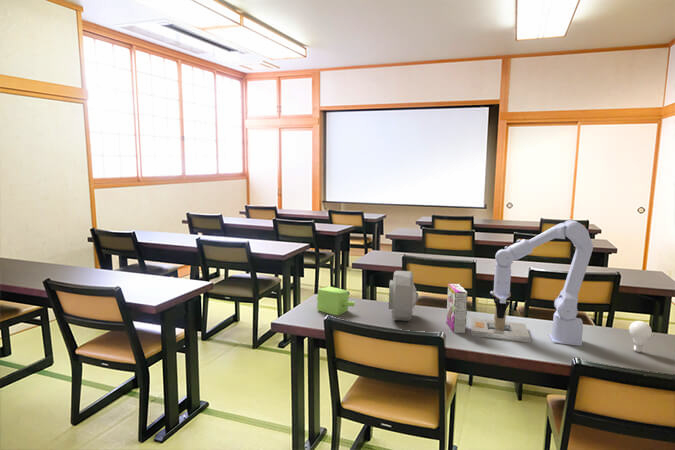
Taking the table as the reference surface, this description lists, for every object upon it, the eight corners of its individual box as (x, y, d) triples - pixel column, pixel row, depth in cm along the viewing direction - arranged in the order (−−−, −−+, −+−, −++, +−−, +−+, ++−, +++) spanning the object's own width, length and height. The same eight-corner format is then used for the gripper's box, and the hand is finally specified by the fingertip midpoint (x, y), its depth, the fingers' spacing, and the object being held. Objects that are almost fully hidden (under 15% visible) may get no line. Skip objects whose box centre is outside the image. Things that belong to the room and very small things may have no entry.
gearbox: (358, 313, 186) (360, 291, 185) (346, 318, 178) (348, 296, 177) (324, 304, 196) (325, 283, 195) (311, 309, 187) (312, 287, 186)
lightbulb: (639, 347, 153) (643, 318, 151) (653, 355, 146) (657, 324, 145) (622, 347, 152) (625, 318, 151) (635, 355, 146) (638, 324, 145)
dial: (417, 329, 167) (420, 278, 164) (387, 326, 169) (389, 277, 166) (416, 311, 187) (418, 266, 184) (389, 309, 189) (391, 265, 186)
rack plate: (524, 328, 169) (524, 323, 169) (529, 342, 156) (530, 336, 156) (471, 322, 175) (471, 317, 174) (471, 335, 161) (472, 330, 161)
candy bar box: (445, 322, 174) (447, 283, 172) (457, 323, 174) (459, 283, 172) (452, 333, 163) (455, 291, 161) (466, 333, 163) (468, 291, 161)
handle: (490, 326, 169) (493, 289, 166) (508, 329, 166) (510, 291, 164) (489, 331, 164) (492, 292, 162) (507, 333, 162) (510, 295, 160)
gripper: (489, 275, 171) (487, 308, 172) (492, 285, 157) (489, 321, 159) (508, 277, 169) (506, 310, 171) (513, 287, 155) (510, 323, 157)
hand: (499, 316), depth 164 cm, fingers closed on handle, 4 cm apart
